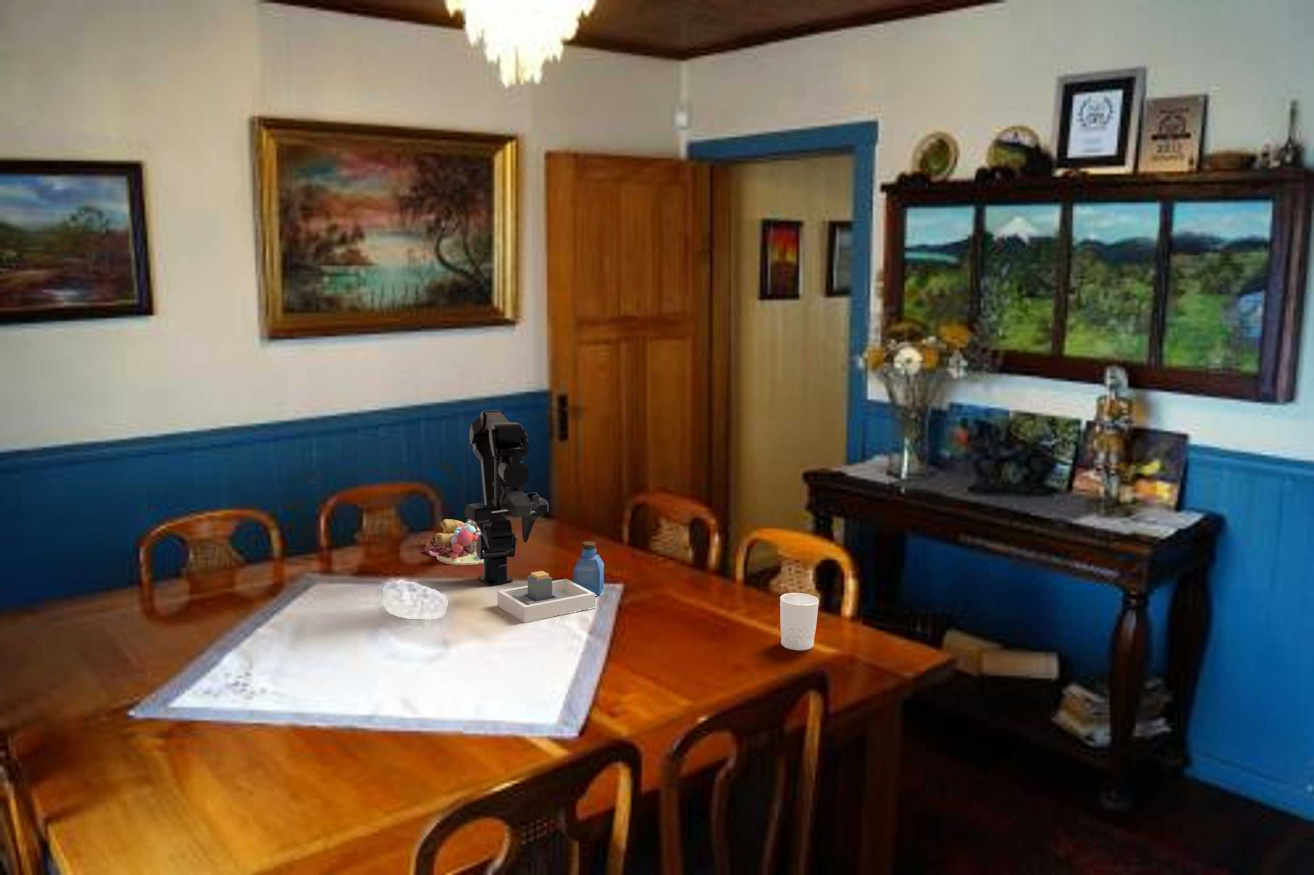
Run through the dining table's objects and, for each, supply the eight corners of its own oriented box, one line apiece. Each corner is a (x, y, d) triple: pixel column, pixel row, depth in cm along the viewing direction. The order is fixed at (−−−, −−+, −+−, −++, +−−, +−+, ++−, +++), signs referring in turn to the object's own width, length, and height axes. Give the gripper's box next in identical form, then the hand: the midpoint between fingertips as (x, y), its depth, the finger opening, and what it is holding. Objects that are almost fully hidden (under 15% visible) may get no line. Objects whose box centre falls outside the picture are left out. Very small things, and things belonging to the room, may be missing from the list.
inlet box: (497, 605, 239) (497, 591, 238) (566, 592, 249) (566, 578, 248) (524, 622, 228) (524, 607, 228) (595, 608, 239) (595, 593, 238)
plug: (536, 610, 234) (536, 577, 233) (527, 605, 237) (527, 572, 236) (551, 607, 236) (552, 574, 235) (543, 602, 240) (543, 569, 238)
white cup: (819, 641, 222) (821, 595, 220) (812, 654, 214) (814, 607, 213) (782, 635, 224) (784, 590, 223) (774, 648, 217) (776, 602, 215)
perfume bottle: (603, 588, 253) (604, 540, 251) (599, 596, 247) (600, 547, 245) (578, 587, 254) (578, 539, 251) (573, 595, 247) (574, 546, 245)
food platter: (408, 549, 283) (407, 515, 282) (481, 534, 299) (481, 503, 298) (459, 570, 265) (459, 535, 264) (534, 554, 281) (534, 520, 280)
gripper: (485, 489, 227) (485, 559, 229) (560, 480, 237) (560, 547, 240) (463, 480, 236) (463, 547, 238) (536, 471, 246) (536, 536, 249)
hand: (507, 544), depth 241 cm, fingers open, 9 cm apart
